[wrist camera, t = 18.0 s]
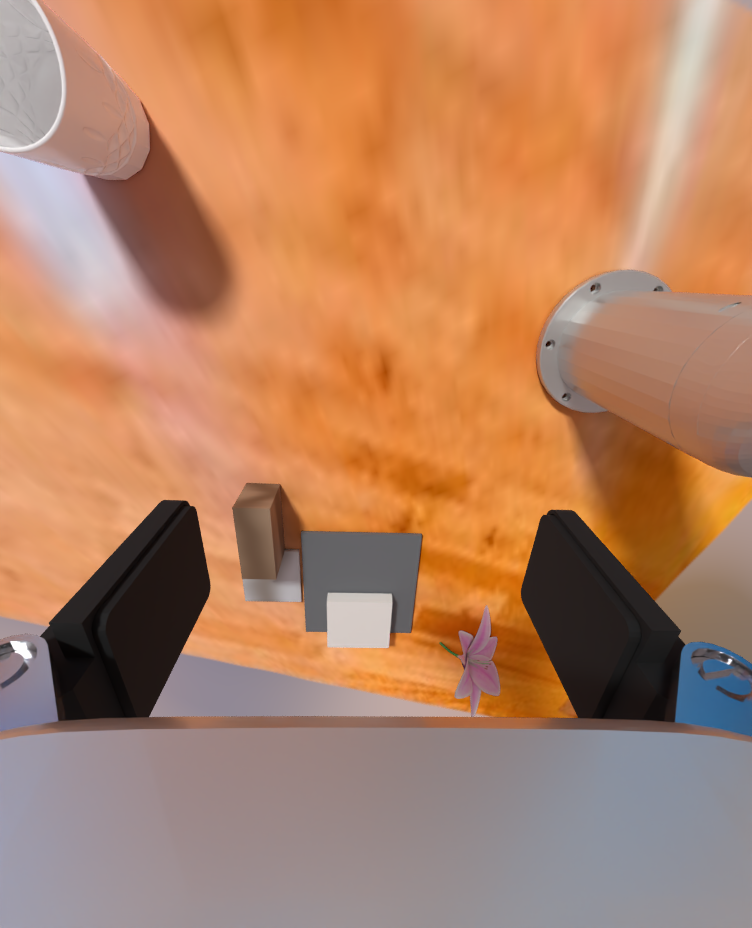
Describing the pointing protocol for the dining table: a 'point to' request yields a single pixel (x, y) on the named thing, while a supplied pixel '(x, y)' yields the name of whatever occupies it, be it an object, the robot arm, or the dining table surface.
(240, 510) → the brown and grey block
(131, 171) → the white cup
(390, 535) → the mat
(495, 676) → the lily
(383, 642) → the tile
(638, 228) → the dining table surface
